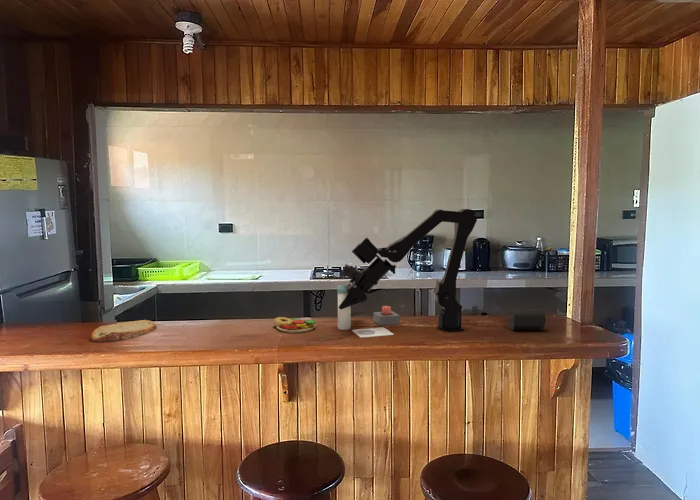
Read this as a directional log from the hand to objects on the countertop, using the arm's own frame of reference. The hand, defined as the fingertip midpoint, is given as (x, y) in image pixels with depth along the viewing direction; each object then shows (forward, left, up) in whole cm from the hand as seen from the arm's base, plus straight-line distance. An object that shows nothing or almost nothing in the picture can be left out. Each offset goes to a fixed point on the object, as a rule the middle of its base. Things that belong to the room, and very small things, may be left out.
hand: (339, 307), depth 162 cm
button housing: (-17, -3, -7) cm, 19 cm away
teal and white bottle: (-1, 0, -7) cm, 7 cm away
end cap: (-57, +19, -7) cm, 61 cm away
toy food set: (+14, -5, -8) cm, 16 cm away
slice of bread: (+67, -14, -8) cm, 69 cm away
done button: (-17, -3, -6) cm, 18 cm away
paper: (-8, +8, -7) cm, 14 cm away
